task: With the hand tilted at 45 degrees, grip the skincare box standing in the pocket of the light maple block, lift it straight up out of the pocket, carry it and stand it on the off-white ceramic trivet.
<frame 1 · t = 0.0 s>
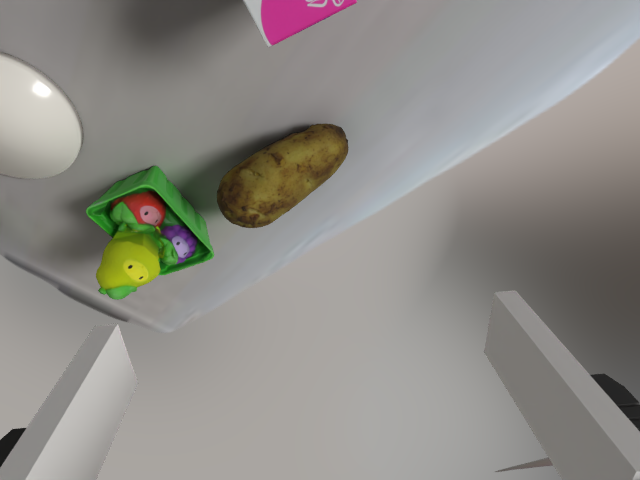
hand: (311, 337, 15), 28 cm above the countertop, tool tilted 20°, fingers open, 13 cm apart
fruit basket: (159, 203, 45), on the countertop
trivet: (8, 116, 36), on the countertop
potato: (283, 153, 42), on the countertop
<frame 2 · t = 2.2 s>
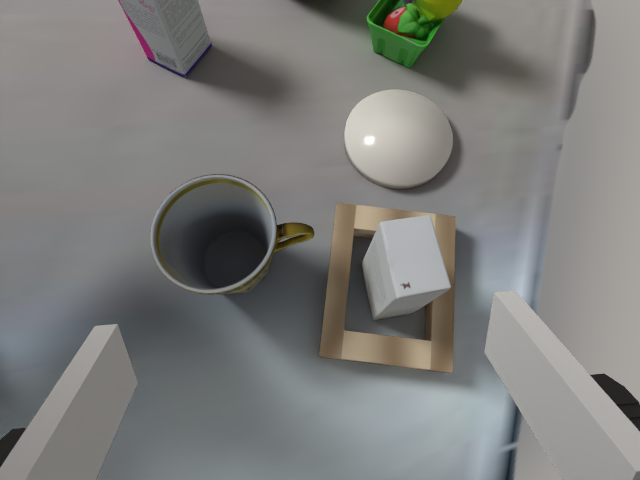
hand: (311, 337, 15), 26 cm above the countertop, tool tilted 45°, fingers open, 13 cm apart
supplement box: (180, 53, 50), on the countertop
skincare box: (386, 287, 41), resting in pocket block
fruit basket: (411, 38, 51), on the countertop
trivet: (396, 140, 46), on the countertop
ceramic cup: (251, 262, 42), on the countertop
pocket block: (386, 287, 41), on the countertop
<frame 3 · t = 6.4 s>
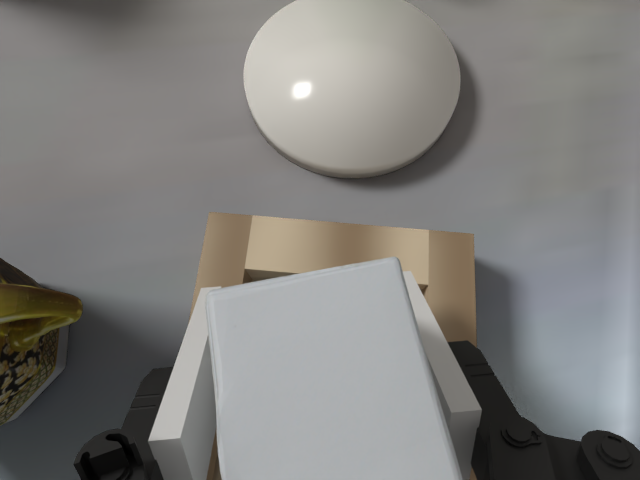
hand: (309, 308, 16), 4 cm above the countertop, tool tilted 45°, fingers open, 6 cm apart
skincare box: (325, 395, 19), resting in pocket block
trivet: (350, 85, 24), on the countertop
ceramic cup: (35, 345, 20), on the countertop
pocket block: (325, 396, 19), on the countertop
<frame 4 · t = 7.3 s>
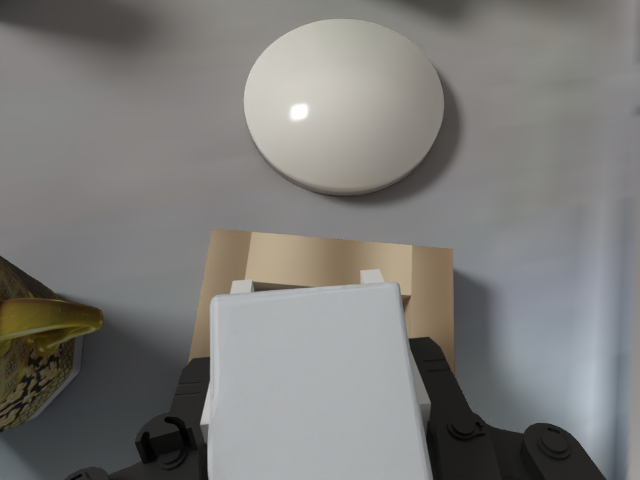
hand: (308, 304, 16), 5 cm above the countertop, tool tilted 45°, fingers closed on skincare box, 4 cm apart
skincare box: (316, 399, 19), point 1 cm above the countertop, touching gripper
trivet: (342, 108, 26), on the countertop
ceramic cup: (52, 350, 21), on the countertop
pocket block: (318, 397, 20), on the countertop
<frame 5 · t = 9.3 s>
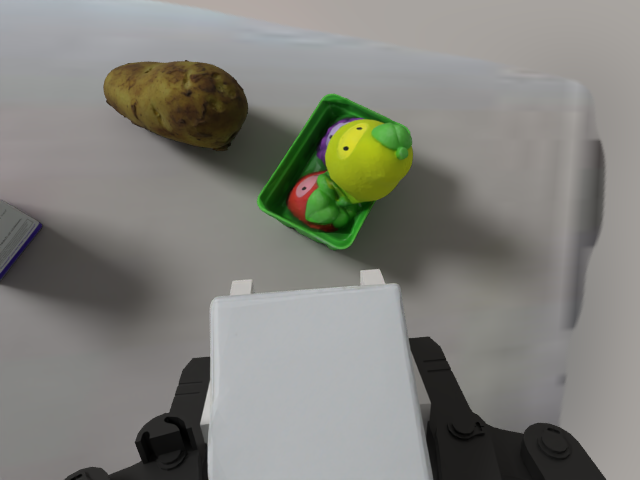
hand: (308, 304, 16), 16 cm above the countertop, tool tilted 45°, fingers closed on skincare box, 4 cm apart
skincare box: (316, 400, 19), point 12 cm above the countertop, touching gripper
fruit basket: (339, 198, 35), on the countertop
potato: (190, 126, 37), on the countertop
when the fingers open (6 cm above the countertop, at t = 11.3 s): skincare box stays where it is, resting on trivet.
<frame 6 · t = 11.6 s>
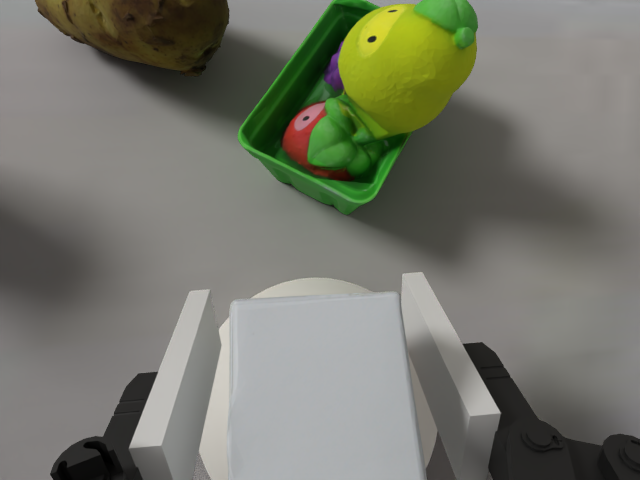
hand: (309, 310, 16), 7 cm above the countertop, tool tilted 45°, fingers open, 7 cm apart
skincare box: (315, 398, 20), point 1 cm above the countertop, touching trivet
fruit basket: (353, 147, 26), on the countertop
trivet: (316, 396, 21), on the countertop
potato: (156, 53, 28), on the countertop
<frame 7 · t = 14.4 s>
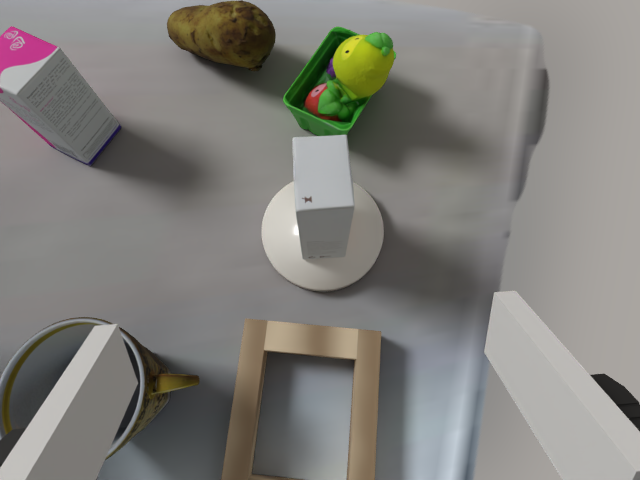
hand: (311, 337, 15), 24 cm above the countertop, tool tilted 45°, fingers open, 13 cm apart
supplement box: (87, 136, 45), on the countertop
skincare box: (322, 230, 40), point 1 cm above the countertop, touching trivet
fruit basket: (343, 110, 46), on the countertop
trivet: (322, 233, 41), on the countertop
ceramic cup: (152, 386, 37), on the countertop
potato: (229, 58, 49), on the countertop
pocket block: (305, 414, 36), on the countertop
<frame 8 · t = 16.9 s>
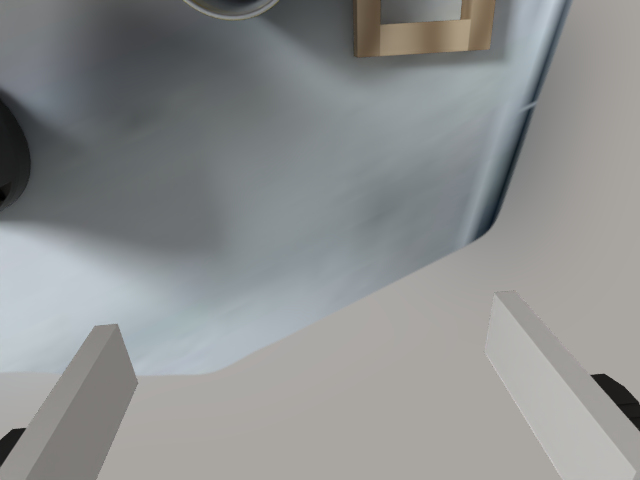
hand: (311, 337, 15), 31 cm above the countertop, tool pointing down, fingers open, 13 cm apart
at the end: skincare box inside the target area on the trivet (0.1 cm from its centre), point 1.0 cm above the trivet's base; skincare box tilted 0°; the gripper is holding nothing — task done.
